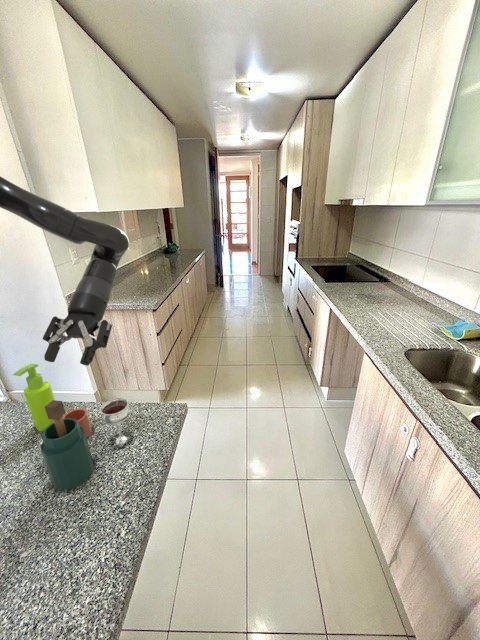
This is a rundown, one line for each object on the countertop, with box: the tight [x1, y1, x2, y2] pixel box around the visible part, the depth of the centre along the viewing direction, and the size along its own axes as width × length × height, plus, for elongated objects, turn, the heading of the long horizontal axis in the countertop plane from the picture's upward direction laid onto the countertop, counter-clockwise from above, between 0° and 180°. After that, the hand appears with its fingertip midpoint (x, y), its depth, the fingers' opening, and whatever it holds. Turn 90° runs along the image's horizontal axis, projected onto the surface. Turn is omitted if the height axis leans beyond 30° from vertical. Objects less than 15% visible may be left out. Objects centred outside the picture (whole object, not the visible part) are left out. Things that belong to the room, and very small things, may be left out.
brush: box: [45, 399, 67, 438], centre depth 58 cm, size 3×3×20 cm
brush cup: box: [62, 408, 93, 439], centre depth 71 cm, size 6×6×7 cm
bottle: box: [40, 418, 94, 491], centre depth 59 cm, size 8×8×14 cm
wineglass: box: [99, 397, 131, 445], centre depth 69 cm, size 7×7×12 cm
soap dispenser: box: [12, 362, 56, 432], centre depth 72 cm, size 6×7×20 cm
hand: (66, 363), depth 57 cm, fingers open, 8 cm apart
